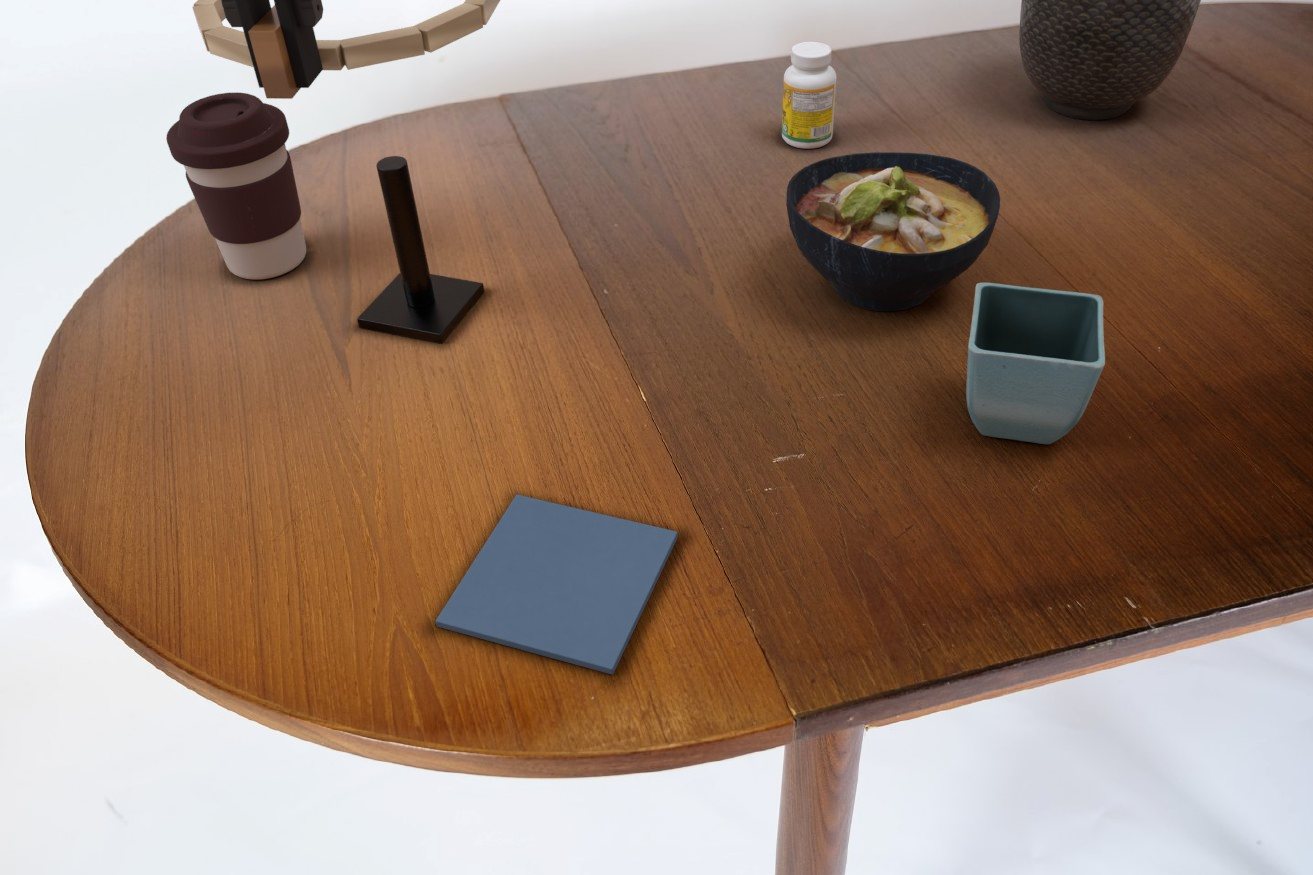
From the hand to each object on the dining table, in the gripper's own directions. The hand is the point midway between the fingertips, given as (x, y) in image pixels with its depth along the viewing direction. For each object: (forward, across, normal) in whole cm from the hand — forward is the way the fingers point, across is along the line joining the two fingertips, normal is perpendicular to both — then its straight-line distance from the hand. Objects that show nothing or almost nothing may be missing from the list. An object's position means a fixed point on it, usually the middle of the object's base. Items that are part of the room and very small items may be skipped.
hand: (291, 77), depth 68 cm
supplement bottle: (+28, -32, -49) cm, 65 cm away
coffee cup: (+28, +18, -23) cm, 40 cm away
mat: (+28, -16, +14) cm, 35 cm away
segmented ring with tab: (0, 0, -10) cm, 10 cm away
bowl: (+28, -39, -21) cm, 52 cm away
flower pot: (+28, -48, -4) cm, 55 cm away
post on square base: (+28, +1, -16) cm, 32 cm away
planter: (+27, -62, -58) cm, 89 cm away
